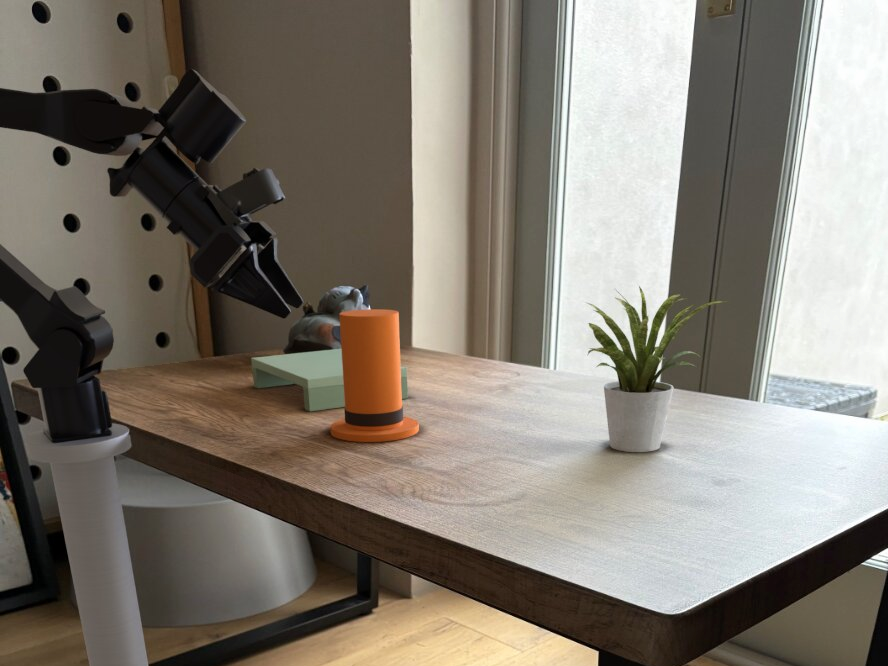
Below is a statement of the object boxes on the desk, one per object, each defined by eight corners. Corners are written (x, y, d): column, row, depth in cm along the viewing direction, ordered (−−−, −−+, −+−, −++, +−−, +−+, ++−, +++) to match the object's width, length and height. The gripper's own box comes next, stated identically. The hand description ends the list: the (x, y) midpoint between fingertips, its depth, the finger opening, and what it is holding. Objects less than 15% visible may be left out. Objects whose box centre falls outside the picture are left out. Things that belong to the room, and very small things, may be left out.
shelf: (309, 411, 116) (307, 379, 114) (253, 386, 131) (250, 357, 130) (408, 398, 122) (407, 367, 121) (343, 376, 138) (341, 348, 136)
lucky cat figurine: (278, 356, 154) (303, 276, 154) (346, 382, 158) (371, 304, 158) (289, 342, 140) (316, 253, 140) (363, 370, 143) (390, 284, 143)
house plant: (704, 429, 104) (718, 275, 97) (727, 462, 91) (745, 288, 85) (575, 429, 105) (581, 276, 98) (581, 461, 92) (588, 289, 86)
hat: (354, 446, 99) (346, 321, 94) (316, 428, 107) (307, 311, 102) (434, 433, 104) (431, 313, 99) (393, 417, 112) (388, 305, 107)
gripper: (211, 132, 85) (335, 261, 90) (250, 142, 103) (353, 249, 107) (136, 223, 89) (260, 343, 93) (186, 218, 106) (289, 319, 110)
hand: (294, 310), depth 101 cm, fingers open, 9 cm apart
